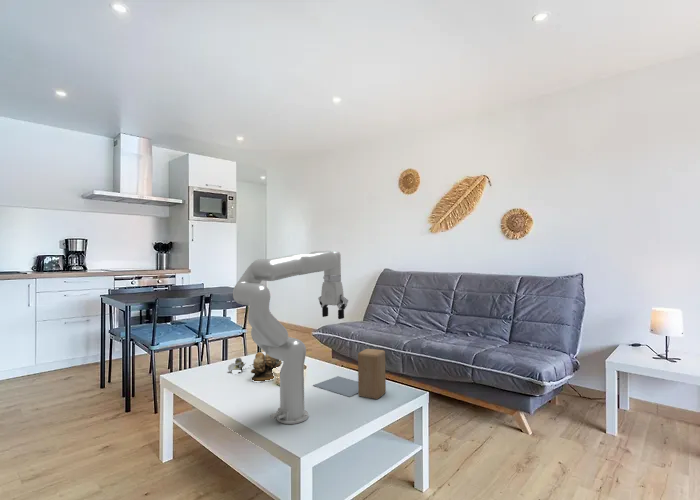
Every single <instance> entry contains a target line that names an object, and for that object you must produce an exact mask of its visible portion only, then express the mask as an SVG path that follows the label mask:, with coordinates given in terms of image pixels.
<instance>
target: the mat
mask: <svg viewBox="0 0 700 500" xmlns="http://www.w3.org/2000/svg"><path fill="white" fill-rule="evenodd" d="M312 387H316V388H318V389H320V390H321V389H323V390H326V391H327V392H330V393H334V394H338V395H341V396H344V397H347V398H351V397H354V396H356V395H359V392H358V380H354V379H350V378H346V377H344V376H343V377H342V376H339V375H337V376H335V377H332V378H329V379H326V380H323V381H321V382H318V383H315V384H313V385H312Z"/></svg>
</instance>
